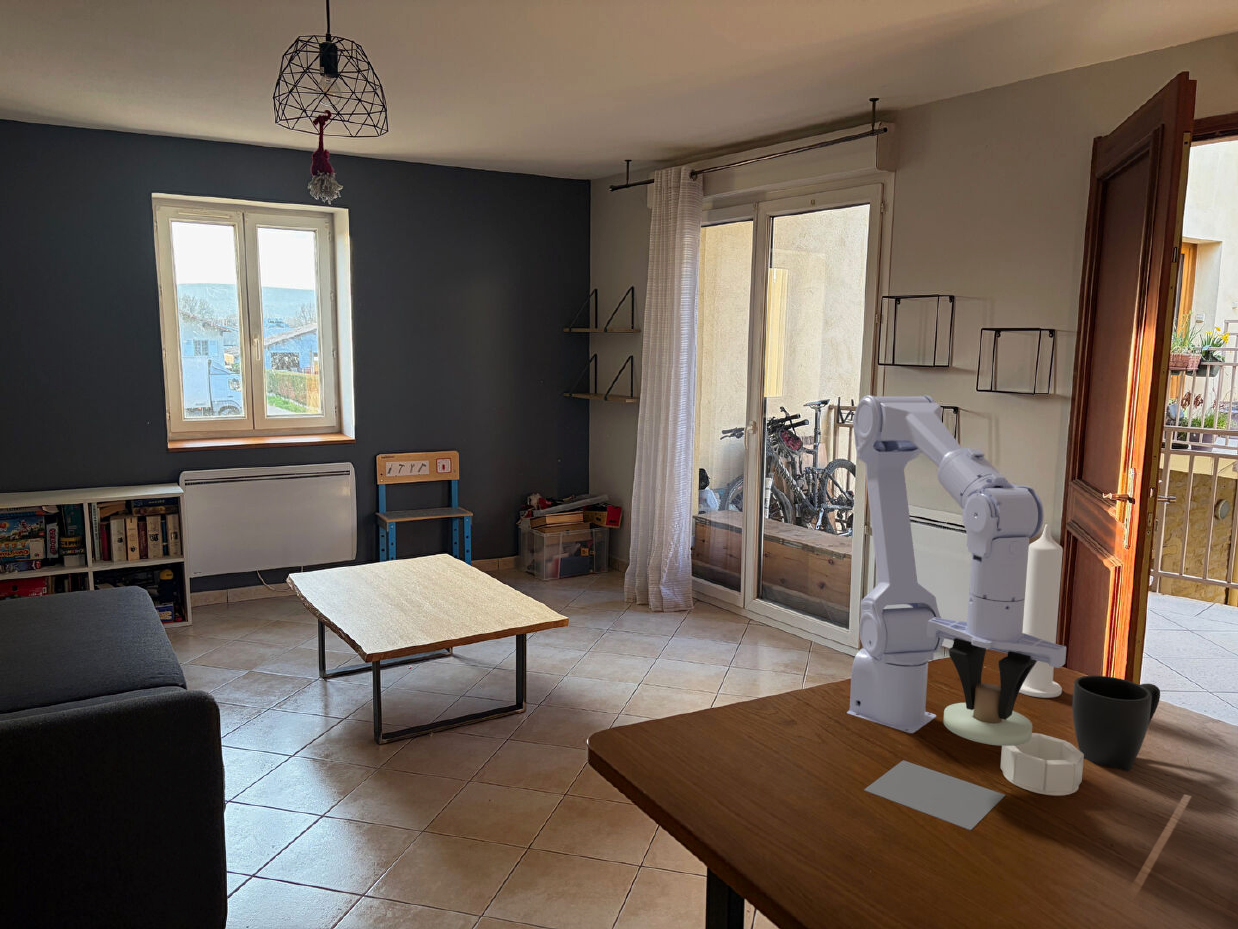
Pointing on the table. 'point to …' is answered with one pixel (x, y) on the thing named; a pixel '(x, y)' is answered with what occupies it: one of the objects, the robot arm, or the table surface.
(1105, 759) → the mug
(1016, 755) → the bowl
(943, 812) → the mat
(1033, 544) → the candle
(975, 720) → the lid
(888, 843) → the table surface
